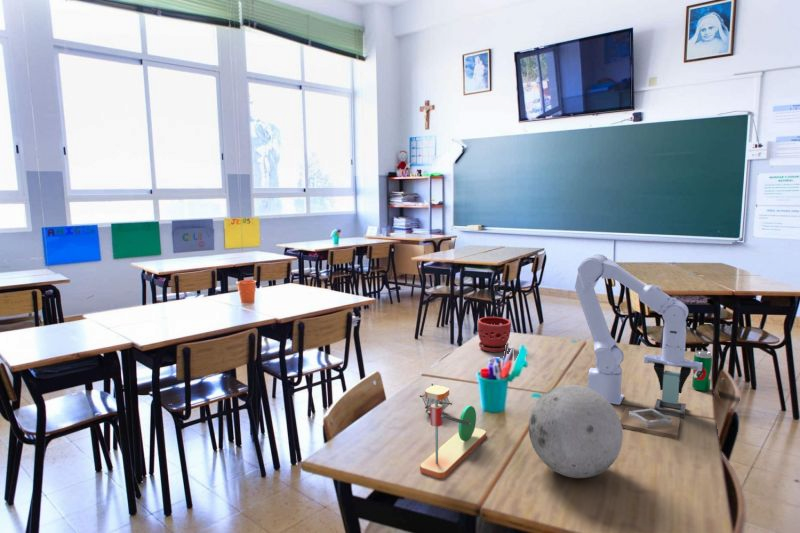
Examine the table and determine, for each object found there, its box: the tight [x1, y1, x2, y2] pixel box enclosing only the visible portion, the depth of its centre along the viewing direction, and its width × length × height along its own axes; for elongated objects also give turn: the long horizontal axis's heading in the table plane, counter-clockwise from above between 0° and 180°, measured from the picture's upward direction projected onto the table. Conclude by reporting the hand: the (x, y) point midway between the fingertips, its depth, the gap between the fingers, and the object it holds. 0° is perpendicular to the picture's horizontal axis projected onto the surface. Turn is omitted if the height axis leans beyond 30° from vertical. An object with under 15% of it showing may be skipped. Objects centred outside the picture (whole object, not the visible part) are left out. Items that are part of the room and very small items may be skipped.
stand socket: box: [653, 398, 686, 419], centre depth 150 cm, size 8×8×2 cm
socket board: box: [619, 407, 681, 440], centre depth 142 cm, size 14×12×2 cm
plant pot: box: [477, 316, 512, 353], centre depth 211 cm, size 13×13×12 cm
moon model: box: [528, 384, 624, 479], centre depth 118 cm, size 20×20×20 cm
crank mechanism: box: [419, 384, 487, 479], centre depth 128 cm, size 25×7×19 cm, turn 147°
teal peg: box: [661, 369, 680, 404], centre depth 150 cm, size 4×4×8 cm
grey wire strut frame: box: [419, 383, 453, 413], centre depth 151 cm, size 9×8×10 cm
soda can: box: [691, 350, 713, 392], centre depth 165 cm, size 5×5×12 cm
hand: (670, 390), depth 150 cm, fingers closed on teal peg, 4 cm apart
